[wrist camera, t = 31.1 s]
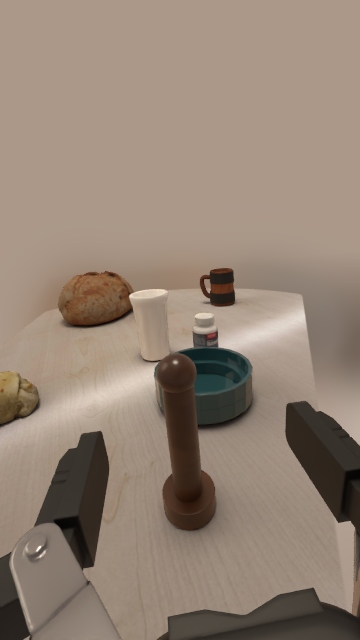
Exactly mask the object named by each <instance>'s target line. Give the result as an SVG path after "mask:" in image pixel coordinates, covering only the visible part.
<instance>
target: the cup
mask: <svg viewBox="0 0 360 640" xmlns="http://www.w3.org/2000/svg"><path fill="white" fill-rule="evenodd" d="M129 298H130V302H131V304H132V306H133V312H134V317H135V322H136V327H137V332H138V337H139V342H140V347H141V352H142V357H143V358H144V359H145V360H149V361H156V360H161V359H163V358H164V357H166V356H168V355H169V354H170V348H169V336H168V321H167V307H166V301H167V299H168V292H167V291H166V290H162V289H150V290H143V291H138V292H135V293H132V294H131V295H129Z"/></svg>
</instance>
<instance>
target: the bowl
mask: <svg viewBox="0 0 360 640" xmlns="http://www.w3.org/2000/svg"><path fill="white" fill-rule="evenodd" d="M175 353H179V354H183V355H186V356H187V357H189V358H190V359H191V360H192V361H193V363H194V365H195V367H196V371H197V377H196V381H195V383H194V389H195V401H196V414H197V424H200V425H202V424H213V423H221V422H224V421H227V420H230V419H233V418H235V417H237V416H238V415H240V414H241V413H242V412H244V411H245V410H246V409H247V408H248V406H249V405H250V403H251V402H252V365H251V363H250V361H249V360H248V359H247V358H246V357H244V356H243V355H242V354H240V353H238V352H235V351H232V350H229V349H224V348H219V347H197V348H189V349H185V350H181V351H177V352H175ZM173 354H174V353H173ZM159 363H160V362H159ZM159 363H158V365H159ZM158 365H157V366H156V367H155V372H154V379H155V386H156V394H157V401H158V403H159V405H160V407H161V409H162V410H163V411H164V403H163V395H162V388H161V386H160V385H159V383H158V381H157V376H156V372H157V367H158ZM164 412H165V411H164Z"/></svg>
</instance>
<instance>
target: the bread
mask: <svg viewBox="0 0 360 640" xmlns="http://www.w3.org/2000/svg"><path fill="white" fill-rule="evenodd" d="M132 293H134V292H133V289H132V287H131V286H130V284H129V283H128V282H127V281H126V280H125V279H124V278H122V277H121V276H119V275H118V274H116V273H113V272H108V271H105V272H104V273H101V274H99V273H97V272H89V273H86V274H84V275H77V276H75V277H73V278H72V279H71V280H70V281H69V282H68V283H67V284H66V285H65V287H64V288H63V289H62V292H61V294H60V297H59V303H58V306H59V310H60V312H61V314H62V315H63V318H64V319H65V320H66V321H67V322H68V323H70V324H73V325H86V326H88V325H96V324H101V323H105V322H108V321H111V320H114V319H116V318H118V317H120V316H122V315H123V314H125V313H126V312H127V311H128V310H130V309H131V308H132V307H133V306H132V304H131V302H130V298H129V295H131V294H132Z"/></svg>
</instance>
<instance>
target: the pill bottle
mask: <svg viewBox="0 0 360 640" xmlns="http://www.w3.org/2000/svg"><path fill="white" fill-rule="evenodd" d="M195 323H196V325H195V326H194V327H193V343H194V348H197V347H218V329H217V326H216V325H215V324H214V315H213V314H211V313H200V314H197V315H195Z"/></svg>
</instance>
